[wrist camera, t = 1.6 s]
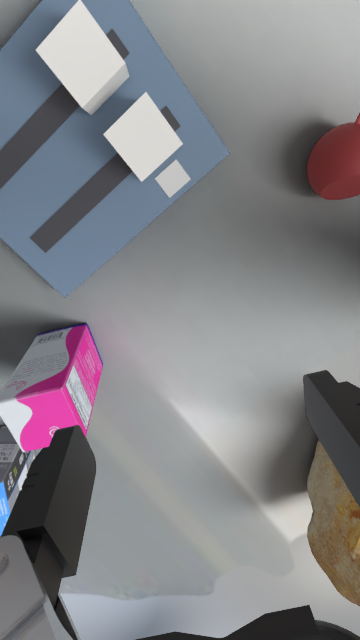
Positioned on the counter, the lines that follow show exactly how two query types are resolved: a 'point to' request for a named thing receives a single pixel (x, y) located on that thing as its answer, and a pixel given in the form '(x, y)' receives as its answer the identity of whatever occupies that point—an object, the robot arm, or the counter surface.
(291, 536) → the counter surface
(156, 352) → the counter surface
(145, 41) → the switch panel
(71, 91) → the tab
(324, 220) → the counter surface
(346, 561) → the stone
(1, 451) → the label tape cartridge
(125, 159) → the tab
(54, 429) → the supplement box
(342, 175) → the red bulb syringe
